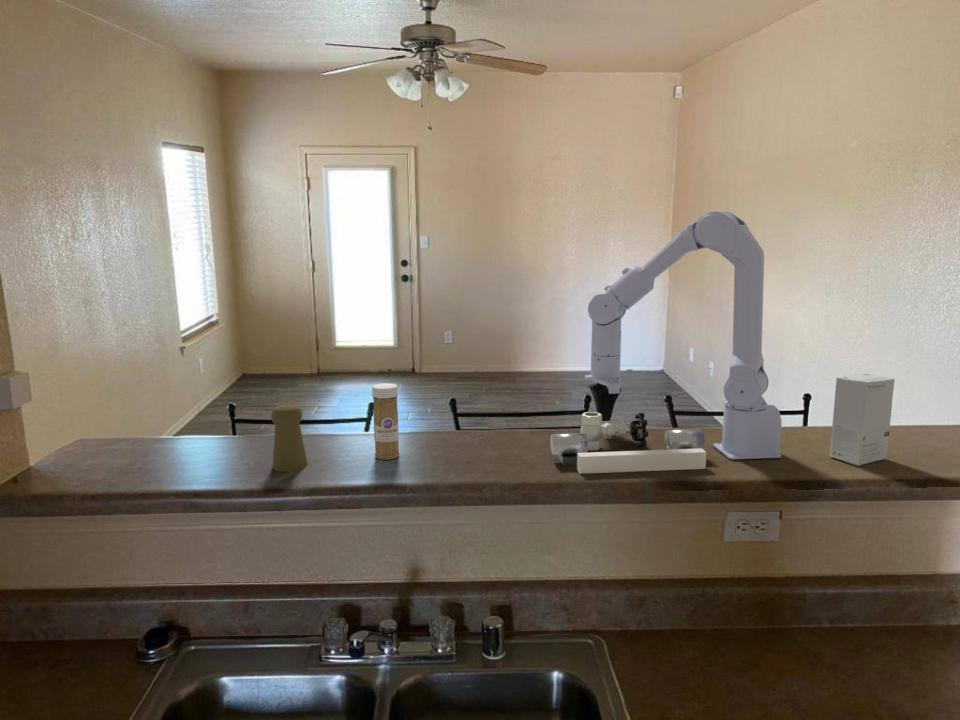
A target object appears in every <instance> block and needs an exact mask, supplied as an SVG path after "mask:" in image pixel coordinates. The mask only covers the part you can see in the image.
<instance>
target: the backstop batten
mask: <svg viewBox="0 0 960 720" xmlns="http://www.w3.org/2000/svg"><path fill="white" fill-rule="evenodd" d="M706 465H707V452H706V451H705V450H704V448H700V449H672V450H667V449H650V450H647V449H646V450H620V451H595V452H592V451H591V452H587V453H577V465H576V471H577V473H579V475H581V474H603V473H604V474H605V473H609V474H610V473H625V472H626V473H630V472H652V471H653V472H654V471H656V472H657V471H660V472H661V471H677V470H678V471H683V470H687V471H688V470H706Z"/></svg>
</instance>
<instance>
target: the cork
mask: <svg viewBox="0 0 960 720" xmlns="http://www.w3.org/2000/svg"><path fill="white" fill-rule="evenodd" d="M270 416H271V417H270V418H271V421H272V423H273V424H274V427H275V428H274V439H273V440H274V442H273V453H272V454H273V455H272V469H273V470H275V471H277V472H283V473H284V472H287V473H288V472H296V471H299V470H302V469H304V468H307V466H308V464H309V463H308V459H307V455H306V454H307V453H306V450H305V444H304V440H303V434H302V430H301V423H300V422H301V421H302V419H303V418H302V417H303V411H302V409H301V408H300V406H299V405H297V404H290V403H287V404H280V405H277V406H275V407H274V408H273V409H272V411H271V415H270Z"/></svg>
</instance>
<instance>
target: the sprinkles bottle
mask: <svg viewBox="0 0 960 720" xmlns="http://www.w3.org/2000/svg"><path fill="white" fill-rule="evenodd" d="M371 388H372V389H371V391H372V392H371V393H372V394H371V396H372V401H373V432H374V433H373V437H374V439H373V440H374V449H375V452H374V457H375V458H376V459H378V460H394V459H397V458H398V457H399V456H400V450H399V438H400V437H399V411H398V395H399V391H398V389H399V388H398V385H397V384H395V383H391V382H390V383H389V382H386V383H385V382H384V383H376V384H374V385H372V387H371Z"/></svg>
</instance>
